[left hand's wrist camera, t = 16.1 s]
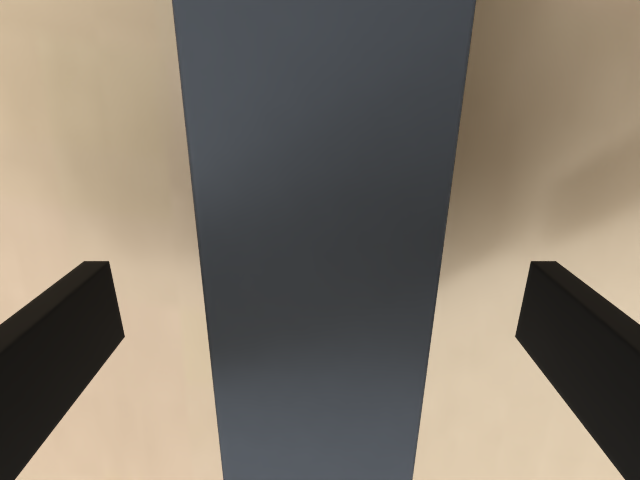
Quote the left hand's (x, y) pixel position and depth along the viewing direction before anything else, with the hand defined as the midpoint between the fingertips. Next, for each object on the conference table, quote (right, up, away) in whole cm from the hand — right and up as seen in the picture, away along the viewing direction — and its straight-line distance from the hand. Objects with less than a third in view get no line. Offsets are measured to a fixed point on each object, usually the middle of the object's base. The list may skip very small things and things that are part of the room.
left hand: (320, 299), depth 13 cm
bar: (0, +9, +1) cm, 10 cm away
